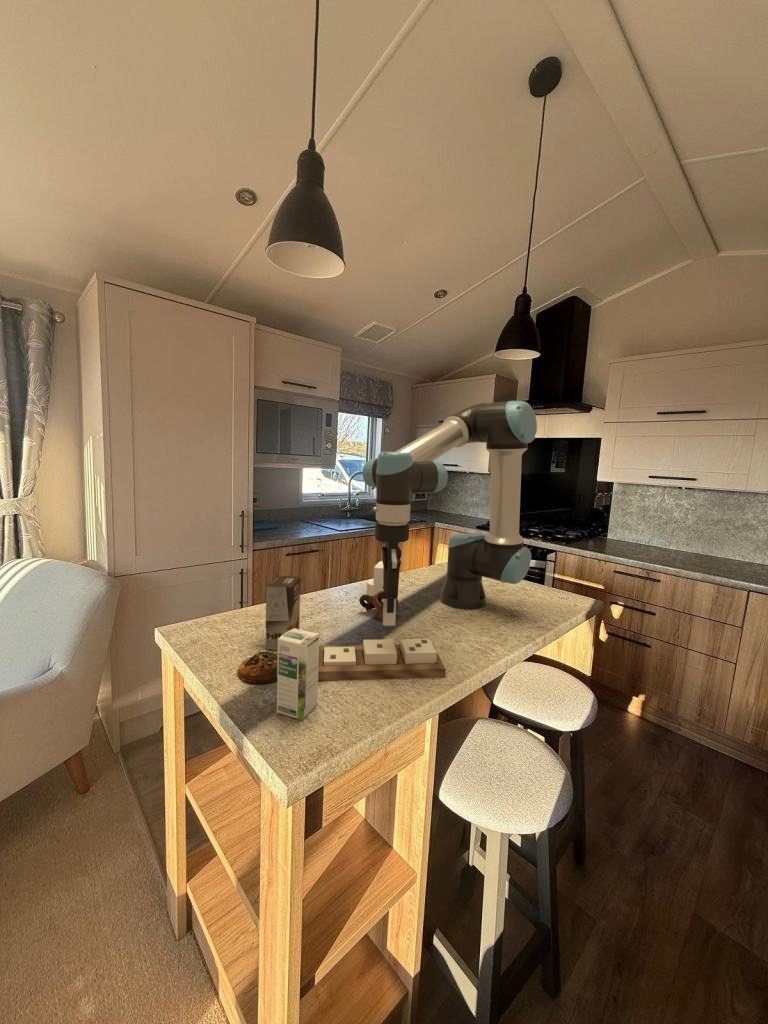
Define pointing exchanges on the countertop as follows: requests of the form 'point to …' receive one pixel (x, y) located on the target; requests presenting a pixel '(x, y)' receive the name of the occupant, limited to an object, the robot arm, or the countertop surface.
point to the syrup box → (297, 673)
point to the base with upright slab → (376, 581)
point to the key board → (378, 668)
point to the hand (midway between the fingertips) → (389, 624)
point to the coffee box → (281, 608)
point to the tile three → (418, 651)
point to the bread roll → (259, 668)
